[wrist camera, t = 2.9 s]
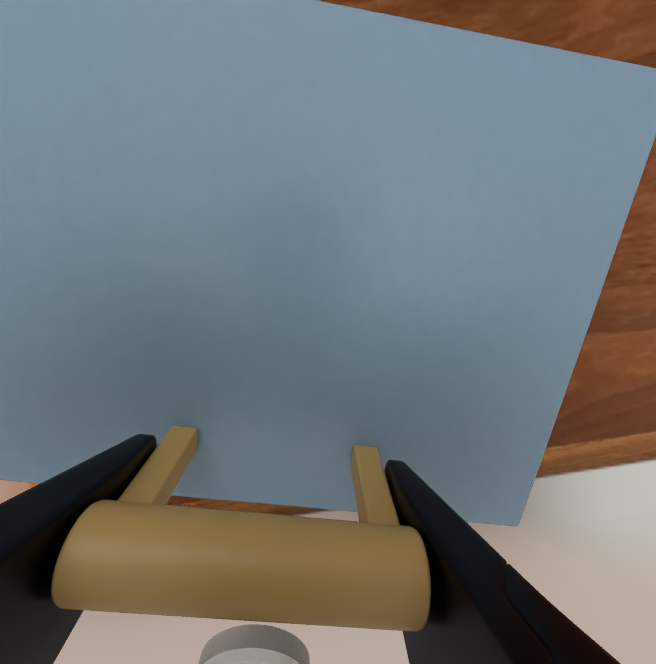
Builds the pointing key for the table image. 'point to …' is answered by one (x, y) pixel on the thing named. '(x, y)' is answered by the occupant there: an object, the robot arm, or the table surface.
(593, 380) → the table surface
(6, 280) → the lid
